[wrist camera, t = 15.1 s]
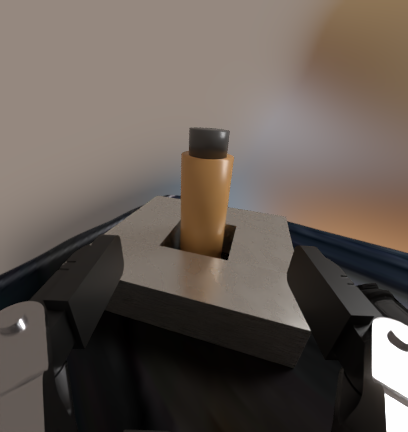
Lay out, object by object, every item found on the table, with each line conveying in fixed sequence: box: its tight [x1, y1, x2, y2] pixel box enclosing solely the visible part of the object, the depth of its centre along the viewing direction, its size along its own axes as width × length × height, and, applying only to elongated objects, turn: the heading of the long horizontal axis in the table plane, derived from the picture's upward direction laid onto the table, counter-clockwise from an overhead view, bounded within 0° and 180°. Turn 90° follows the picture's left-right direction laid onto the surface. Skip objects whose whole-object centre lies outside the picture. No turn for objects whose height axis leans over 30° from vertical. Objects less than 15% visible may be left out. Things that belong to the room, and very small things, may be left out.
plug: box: [180, 128, 234, 259], centre depth 19 cm, size 4×4×14 cm
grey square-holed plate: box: [62, 196, 311, 368], centre depth 22 cm, size 18×16×4 cm
